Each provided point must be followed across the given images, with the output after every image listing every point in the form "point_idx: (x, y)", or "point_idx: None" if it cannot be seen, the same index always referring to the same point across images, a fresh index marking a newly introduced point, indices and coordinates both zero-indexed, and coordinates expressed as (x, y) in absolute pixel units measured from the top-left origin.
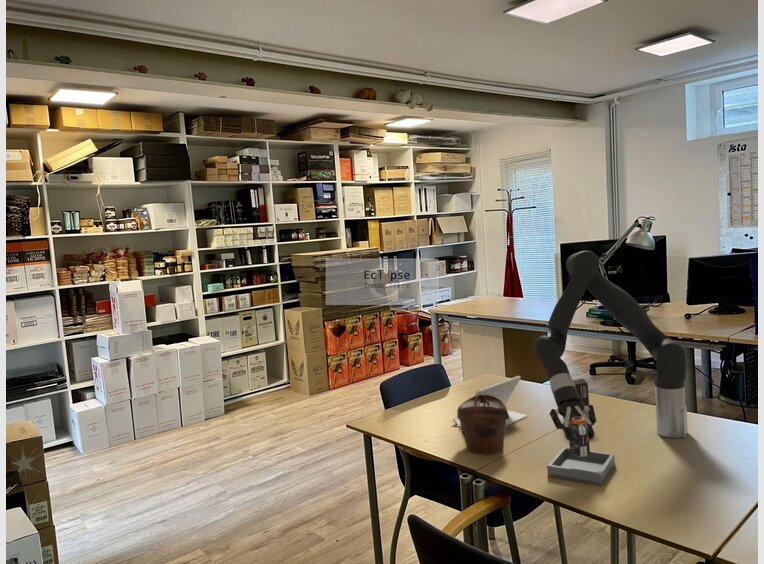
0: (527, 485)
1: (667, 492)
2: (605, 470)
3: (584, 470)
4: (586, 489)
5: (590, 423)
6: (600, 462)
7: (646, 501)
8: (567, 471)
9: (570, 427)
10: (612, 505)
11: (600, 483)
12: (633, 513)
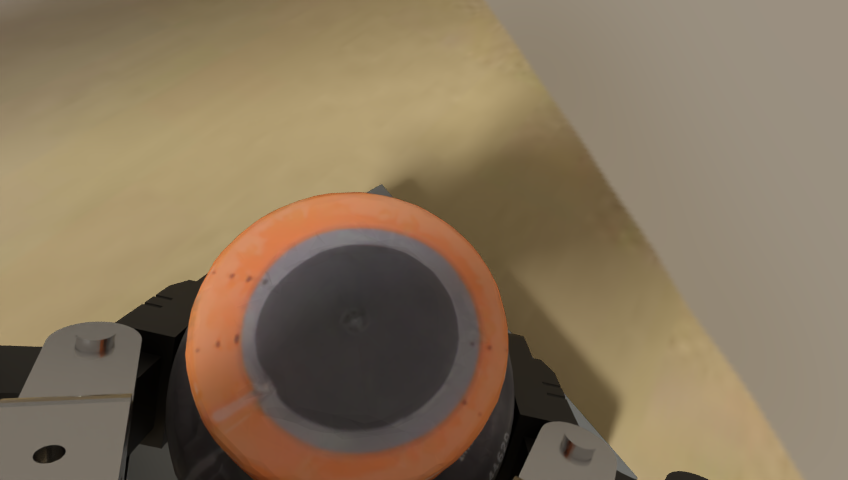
0: (746, 425)
1: (157, 46)
2: None
3: None
4: (465, 232)
5: (95, 327)
6: (143, 460)
7: (304, 45)
8: None
9: (512, 383)
10: (448, 85)
11: None
12: (416, 21)
